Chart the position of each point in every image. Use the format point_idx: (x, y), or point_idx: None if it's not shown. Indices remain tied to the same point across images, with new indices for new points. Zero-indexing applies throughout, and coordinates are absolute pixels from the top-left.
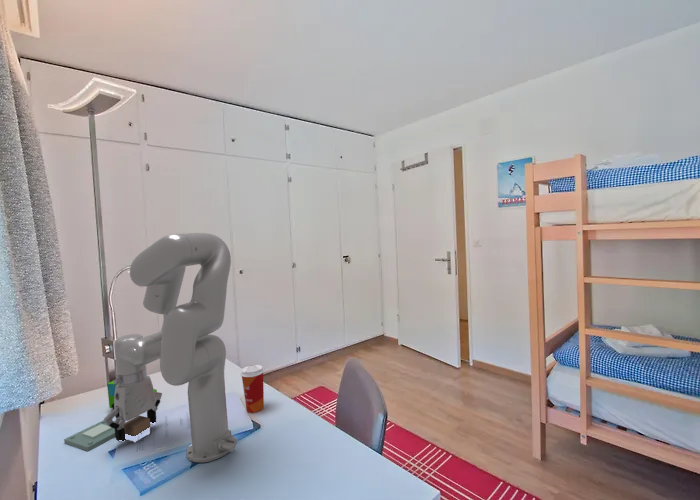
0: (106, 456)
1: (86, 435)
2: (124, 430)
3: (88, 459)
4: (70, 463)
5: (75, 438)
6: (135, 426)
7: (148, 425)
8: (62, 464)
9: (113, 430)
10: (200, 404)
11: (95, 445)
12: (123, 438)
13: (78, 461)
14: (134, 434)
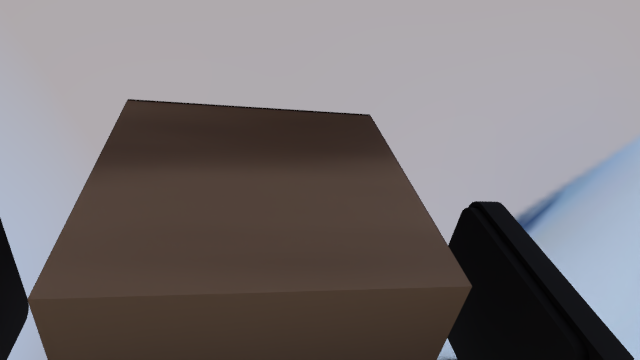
0: (602, 185)
1: None
2: (560, 321)
3: (613, 274)
4: (633, 328)
5: None
6: (432, 274)
7: (128, 188)
8: (631, 353)
9: None
10: None
11: None
12: (518, 230)
13: (622, 308)
14: (408, 182)
